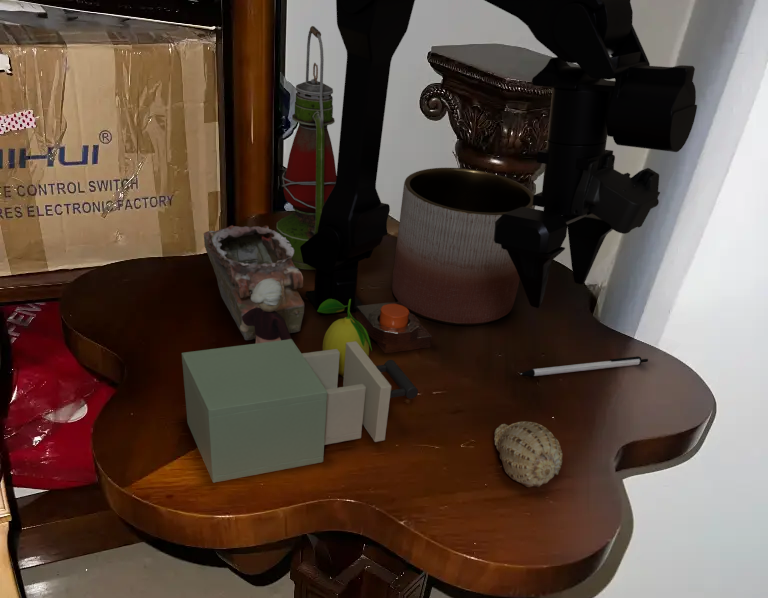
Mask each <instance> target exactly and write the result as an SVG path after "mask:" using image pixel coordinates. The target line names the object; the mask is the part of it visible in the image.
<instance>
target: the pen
mask: <svg viewBox="0 0 768 598" xmlns="http://www.w3.org/2000/svg"><path fill="white" fill-rule="evenodd" d="M648 361H649V359H648V358H642V357H641V356H639V355H638V356H637V355H636V356H629V357H628V356H627V357H618V358H610V359H609V360H605V361H604V360H603V361H595V362H585V363H577V364H568V365H559V366H558V365H557V366H549V367H539V368H538V367H537V368H532V369H529V370H525V371H523V372H521V373H520V375H521V376H527V377H538V376H548V375H549V376H550V375H557V374H566V373H567V374H568V373H574V372H583V371H593V370H602V369H610V368H612V369H613V368H621V367H629V366H638V365H639V366H640V365H641V364H642V363H647V362H648Z"/></svg>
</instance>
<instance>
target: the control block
mask: <svg viewBox="0 0 768 598" xmlns="http://www.w3.org/2000/svg"><path fill="white" fill-rule="evenodd" d="M386 304H399V305H402V306H403V304H402V303H401V302H400V301H398V300H397V301H391V302H381V303H372V304H363V305H362V306H356V311H355V316H354V317H355V318H354V319H355V320H357V321H358V322H359V323H360V324H361V325H362V326H363V327H364V328H365V330H366V331H367V333H368V336H369V338H371V339H372V340H373V341H374V342H375V343H376V345H377V346H378V347H379V348H380V349H381V351H382V352H383V353H384V354H393V353H400V352H407V351H415V350H423V349H428V348H431V345H432V339H433V336H432V334H431V333H429V331H428V330H427V329H426V328H425V327H424V326H423V325H422V324H421V321H420V319H419V318H418V317H417V316H416V314H415V313H413V312H411V311H409V318H408V325H407V326H406V327H403V328H390V327H386V326H384V325H382V324H380V312H381V307H382V306H384V305H386Z"/></svg>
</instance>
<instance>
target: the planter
mask: <svg viewBox="0 0 768 598" xmlns="http://www.w3.org/2000/svg"><path fill="white" fill-rule="evenodd" d="M534 195H535V194H534V192H533V191H531V190H530V189H529V188H528V187H526V186H525V185H523V184H522V183H520V182H518V181H516V180H513V179H511V178H509V177H506V176H503V175H499V174H496V173H492V172H488V171H483V170H479V169H478V170H477V169H471V168H465V167H464V168H463V167H432V168H425V169H421V170H417V171H415V172H412V173H411V174H409V175H408V176H407V177H406V178H405V179H404V182H403V190H402V196H401V197H402V198H401V207H400V215H399V224H398V231H397V239H396V245H395V253H394V261H393V269H392V279H391V292H392V294H393V296H394V298H395V299H396V301H397V302H398V301H400V302H401V303H402V304H403V306H404V307H406V308H407V309H408V310H409V312H410V313H412V314H414V315H417V316H419V317H421V318H424V319H427V320H429V321H433V322H436V323H441V324H445V325H453V326H478V325H480V326H481V325H485V324H490V323H493V322H496V321H499V320H500V319H502V318H504V317H505V316H507V315H509V313H510V312H511V311H512V310H513V308H514V304H515V301H516V298H517V293H518V289H519V283H520V281H521V280H520V277H519V275H518V272H517V270H516V268H515V266H514V264H513V262H512V260H511V258H510V256H509V254H508V251H507V250H505V249H502V248H501V244H497V243H495V242H494V231H495V221H497V220H498V219H499V218H500V217H501V216H502V215H503V214H504V213H507V212H510V211H512V210H515V209H518V208H520V207H527V208H532V209H536V206H534V205H533V196H534Z"/></svg>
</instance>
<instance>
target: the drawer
mask: <svg viewBox="0 0 768 598" xmlns="http://www.w3.org/2000/svg"><path fill="white" fill-rule="evenodd" d="M301 354H302V355H303V357H304V358H305V360H306V361H307V363H308V364H309V365H310V367H311V368H312V370H313V371H314V373H315V374H316V376H317V377H318V379H319V380H320V382H321V383H322V385H323V386H324V388H325V389H326V391H327V407H326V424H325V441H324V446H326V445H331V444H338V443H342V442H347V441H355V440H358V439H362V433H363V432H362V431H363V427H364V428H365V430H366V432H367V433H368V434H369V436H370V437H371V439H372V440H373V442H374V443H379V442H382V441H386V435H387V434H386V432H387V426H388V418H389V417H388V416H389V409H390V402H391V401H390V400H391V399H393V398H398V397H406V398H407V399H410V400H411V399H414V398H416V397H417V395H418V393H419V390H418V388H417V387H416V386H415V384H414V383H413V382H412V381H411V380H410V378H409V376H407V375H406V373H405V372H404V371H403V369H402V368H401V367H400V366H399V365H398V364H397V362H396V361H395V360H393V359H388V360H386V361H385V362H384V364H379V365H375V363H374V362H373V361H372V359H371V358H370V357H368V356H367V355H366V353H365V352H364V351H363V350H362V348H361V347H360V346H359V344H358V343H357V342H356V341H355V342H347V343H346V353H345V366H344V377H343V382H342V386H339V387H338V384H339V374H338V369H339V355H340V352H339V351H338V350H337V349H332V350H325V351H323V350H317V351H311V352H303V353H302V352H301ZM383 373H387V374H388V376H389V377H390V378H391V379H392V381H393V382H394V383H395V384H396V386H397V387H398V388H397V389H392V384H391V383H390V382H389V381H388V380H387V378H386V377H385V376H384V374H383Z"/></svg>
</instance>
